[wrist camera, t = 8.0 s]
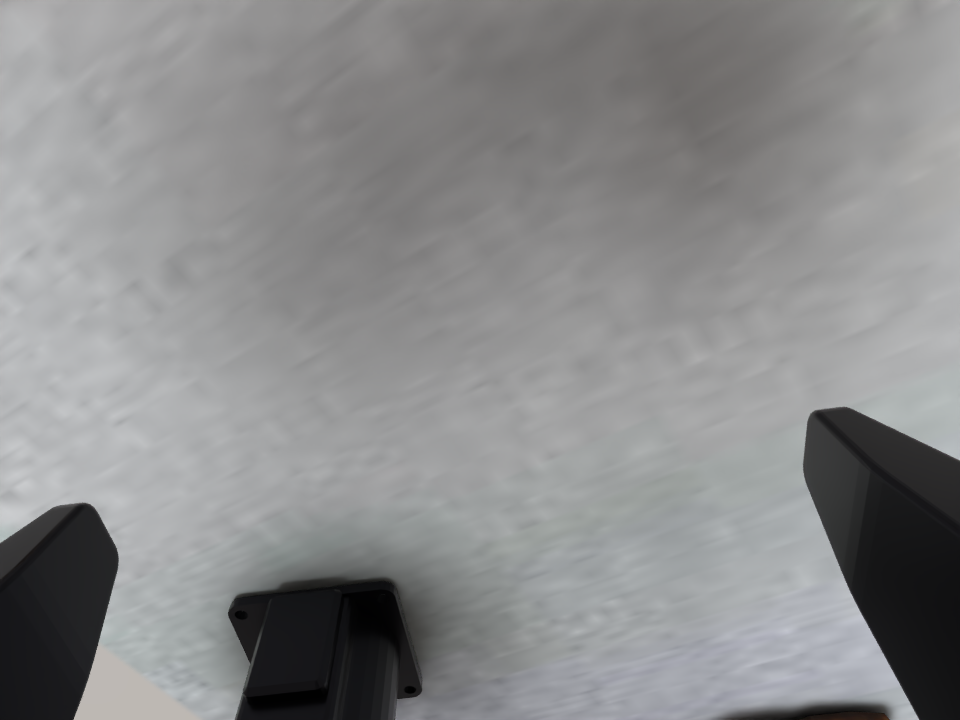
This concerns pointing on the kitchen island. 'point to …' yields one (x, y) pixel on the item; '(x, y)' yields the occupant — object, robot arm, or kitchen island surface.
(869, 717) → the croissant
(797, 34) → the kitchen island surface
